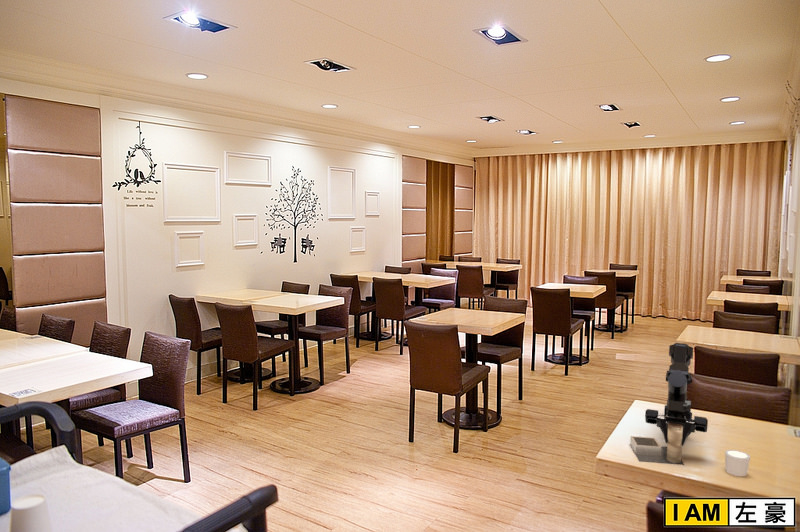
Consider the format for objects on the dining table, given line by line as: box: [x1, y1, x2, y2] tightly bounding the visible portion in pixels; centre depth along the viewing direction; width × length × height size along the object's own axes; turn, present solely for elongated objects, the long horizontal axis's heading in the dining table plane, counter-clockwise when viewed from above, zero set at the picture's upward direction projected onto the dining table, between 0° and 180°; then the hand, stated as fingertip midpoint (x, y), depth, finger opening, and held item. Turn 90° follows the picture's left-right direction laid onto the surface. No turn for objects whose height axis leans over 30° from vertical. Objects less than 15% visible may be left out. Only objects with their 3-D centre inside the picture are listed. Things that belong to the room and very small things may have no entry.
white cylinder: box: [724, 449, 751, 478], centre depth 177 cm, size 7×7×7 cm
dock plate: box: [629, 435, 685, 466], centre depth 190 cm, size 14×14×4 cm
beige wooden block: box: [666, 423, 683, 463], centre depth 185 cm, size 4×4×12 cm
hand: (674, 444), depth 183 cm, fingers closed on beige wooden block, 4 cm apart
